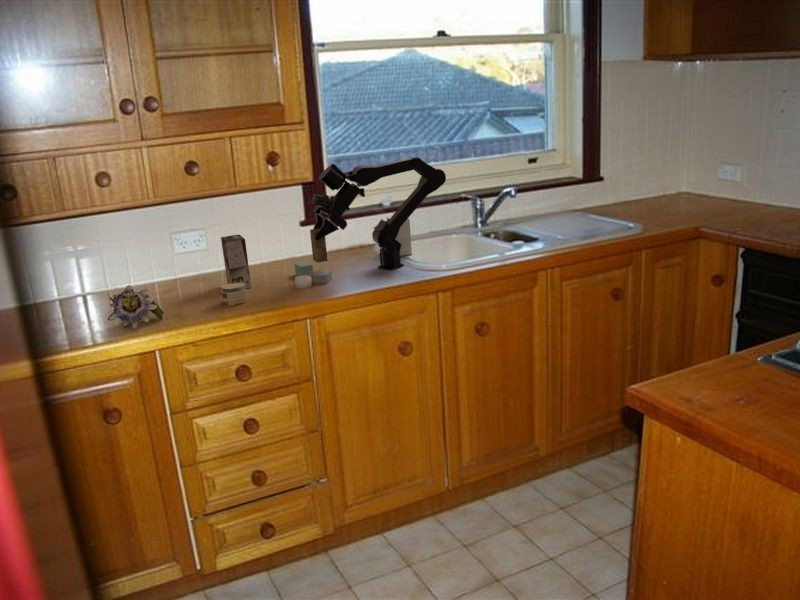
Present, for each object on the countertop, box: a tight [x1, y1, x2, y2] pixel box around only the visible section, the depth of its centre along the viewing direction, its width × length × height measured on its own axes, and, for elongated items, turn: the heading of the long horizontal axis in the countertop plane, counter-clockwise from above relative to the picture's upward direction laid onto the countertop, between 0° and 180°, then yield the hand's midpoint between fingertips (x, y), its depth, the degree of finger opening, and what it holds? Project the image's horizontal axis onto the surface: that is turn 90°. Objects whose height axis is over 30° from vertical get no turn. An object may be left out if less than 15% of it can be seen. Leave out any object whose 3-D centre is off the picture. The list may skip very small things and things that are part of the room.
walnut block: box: [309, 228, 328, 263], centre depth 239 cm, size 4×4×10 cm
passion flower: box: [107, 284, 165, 330], centre depth 208 cm, size 13×12×14 cm
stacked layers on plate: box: [219, 283, 248, 306], centre depth 222 cm, size 10×9×6 cm
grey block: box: [311, 270, 333, 284], centre depth 238 cm, size 5×5×3 cm
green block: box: [294, 261, 314, 277], centre depth 247 cm, size 6×4×4 cm, turn 28°
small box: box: [386, 216, 413, 257], centre depth 266 cm, size 8×6×13 cm
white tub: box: [294, 275, 313, 290], centre depth 234 cm, size 5×5×3 cm
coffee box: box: [220, 234, 252, 290], centre depth 237 cm, size 9×6×16 cm
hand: (313, 238), depth 238 cm, fingers closed on walnut block, 4 cm apart
